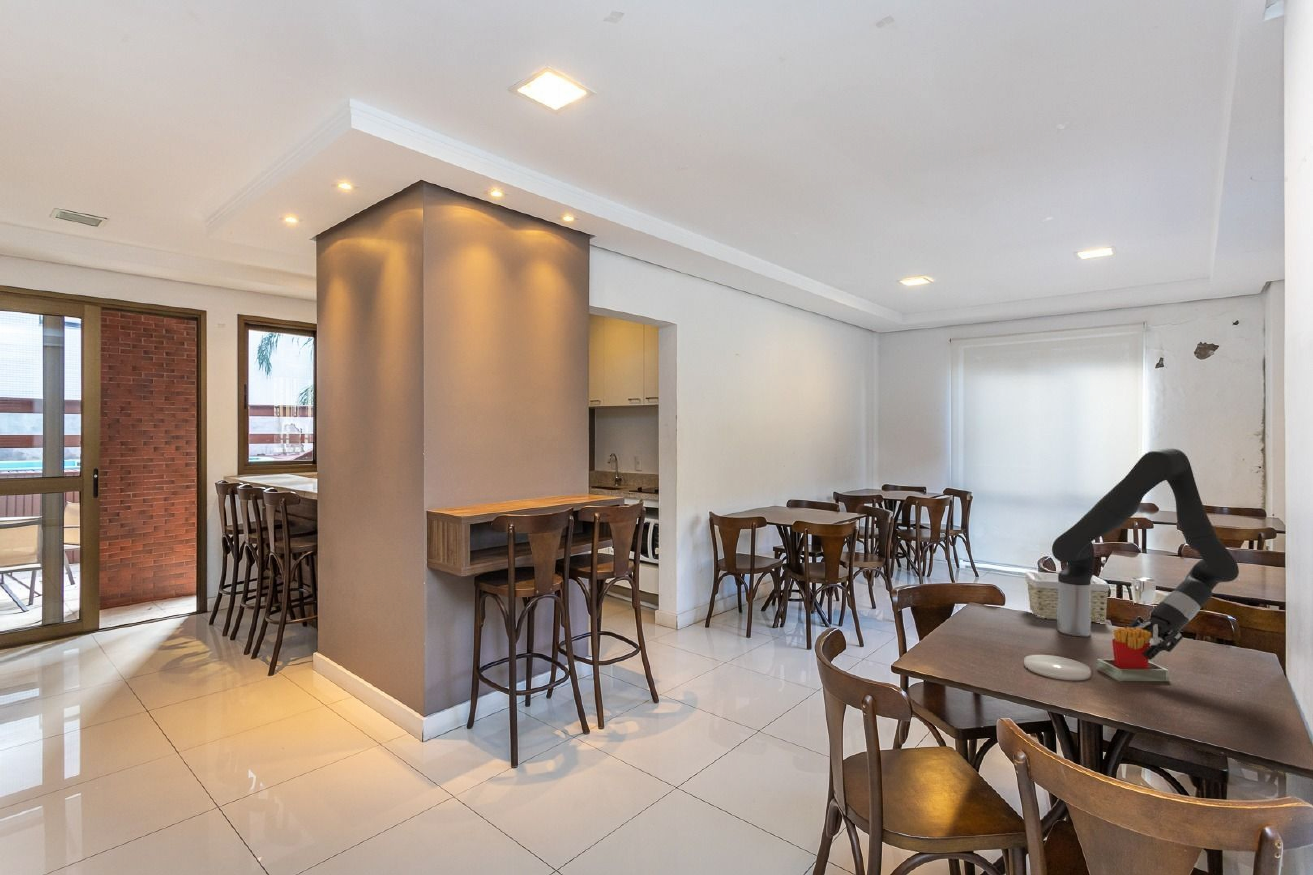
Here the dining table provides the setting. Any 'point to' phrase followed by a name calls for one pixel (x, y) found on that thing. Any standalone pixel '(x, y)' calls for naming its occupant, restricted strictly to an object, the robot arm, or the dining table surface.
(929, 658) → the dining table surface
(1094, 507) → the robot arm
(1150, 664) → the open rectangular box
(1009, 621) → the dining table surface
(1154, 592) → the beer glass
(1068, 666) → the ceramic plate
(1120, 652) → the french fries
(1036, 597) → the storage basket
